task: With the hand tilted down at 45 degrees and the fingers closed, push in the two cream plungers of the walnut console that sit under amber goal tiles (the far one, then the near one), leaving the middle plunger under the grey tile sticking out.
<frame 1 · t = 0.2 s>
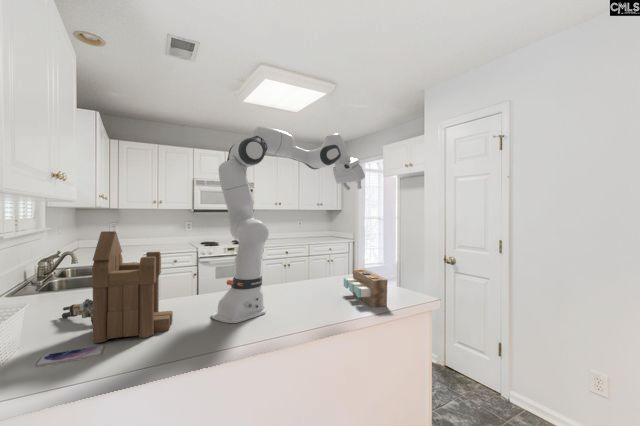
hand: (354, 189, 157), 54 cm above the counter, tool tilted 30°, fingers open, 8 cm apart
console: (361, 298, 147), on the counter
castle structure: (139, 325, 111), on the counter
plunger near: (366, 291, 139), point 6 cm above the counter, slide at 0.0 cm
plunger middle: (359, 286, 147), point 6 cm above the counter, slide at 0.0 cm
plunger far: (353, 282, 154), point 6 cm above the counter, slide at 0.0 cm
smartphone: (71, 358, 88), on the counter
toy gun: (82, 322, 113), on the counter
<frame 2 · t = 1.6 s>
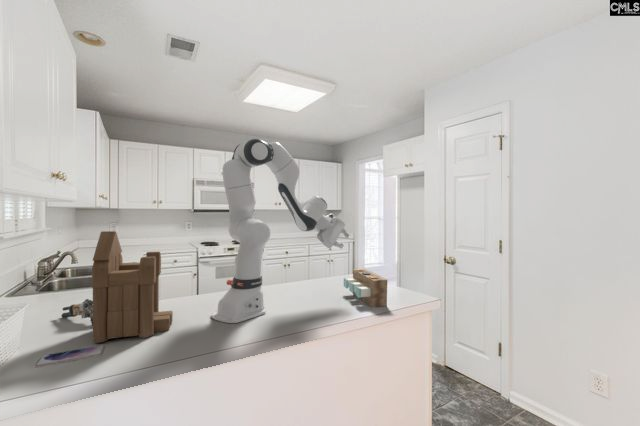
hand: (345, 241, 152), 27 cm above the counter, tool tilted 55°, fingers open, 8 cm apart
nothing on the counter moved.
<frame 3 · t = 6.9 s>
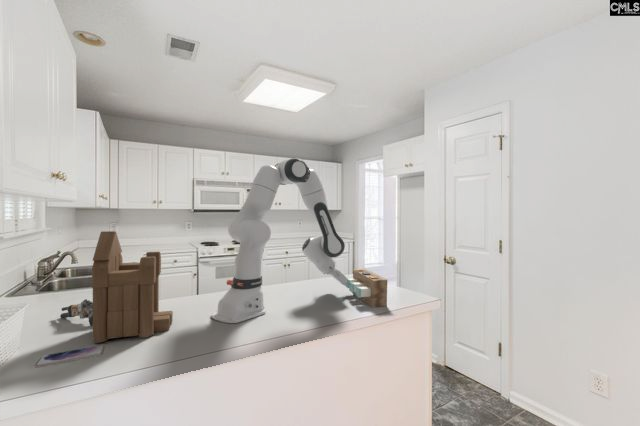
hand: (345, 283, 153), 6 cm above the counter, tool tilted 45°, fingers closed, pressing on plunger far
plunger far: (354, 282, 155), point 6 cm above the counter, slide at 0.8 cm, touching gripper
everything else where it was.
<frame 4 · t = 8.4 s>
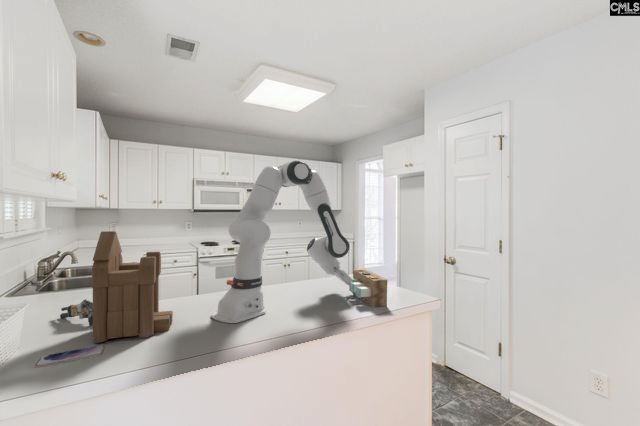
hand: (349, 284, 154), 5 cm above the counter, tool tilted 45°, fingers closed
plunger far: (358, 282, 155), point 6 cm above the counter, slide at 3.1 cm
everything else where it was.
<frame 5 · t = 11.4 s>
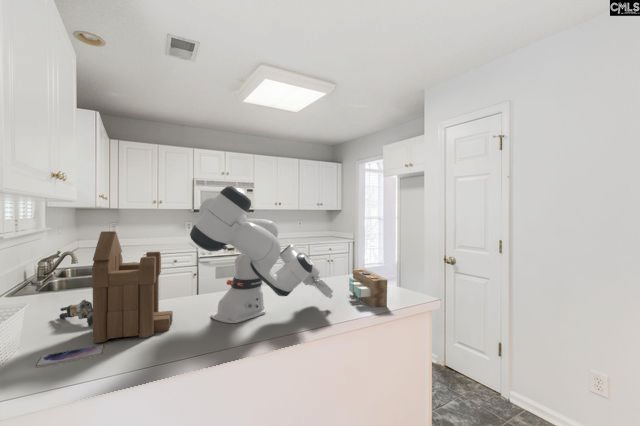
hand: (330, 296, 134), 5 cm above the counter, tool tilted 45°, fingers closed
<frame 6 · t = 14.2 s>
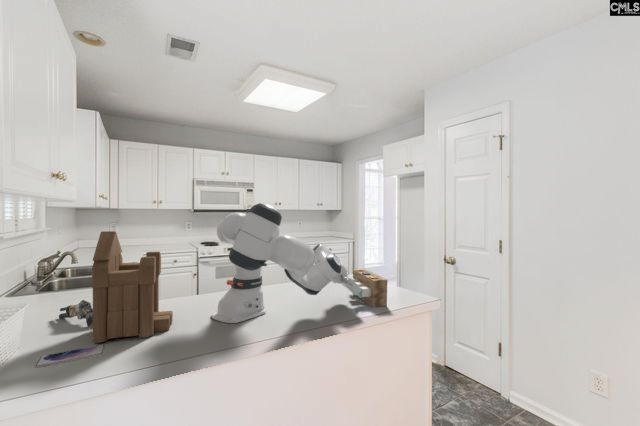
hand: (357, 293, 138), 5 cm above the counter, tool tilted 45°, fingers closed, pressing on plunger near
plunger near: (367, 291, 139), point 6 cm above the counter, slide at 0.7 cm, touching gripper
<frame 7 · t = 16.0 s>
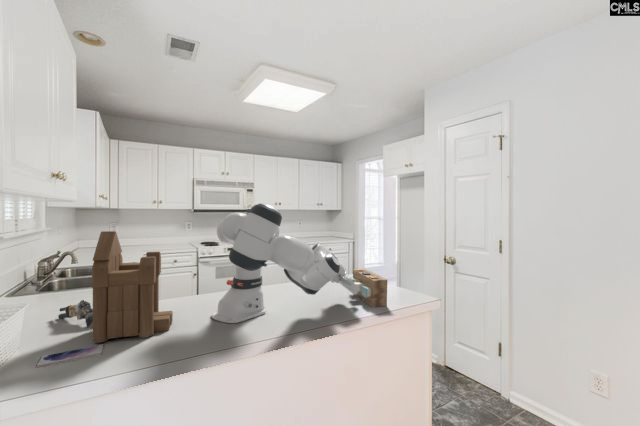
hand: (355, 292, 138), 5 cm above the counter, tool tilted 45°, fingers closed
plunger near: (372, 291, 140), point 6 cm above the counter, slide at 3.1 cm
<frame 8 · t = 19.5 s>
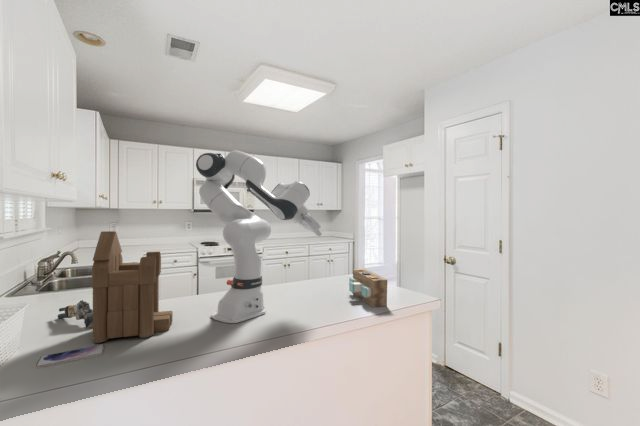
hand: (319, 235, 141), 31 cm above the counter, tool tilted 45°, fingers closed
at the end: plunger far slide at 3.1 cm; plunger near slide at 3.1 cm; plunger middle slide at 0.0 cm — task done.
